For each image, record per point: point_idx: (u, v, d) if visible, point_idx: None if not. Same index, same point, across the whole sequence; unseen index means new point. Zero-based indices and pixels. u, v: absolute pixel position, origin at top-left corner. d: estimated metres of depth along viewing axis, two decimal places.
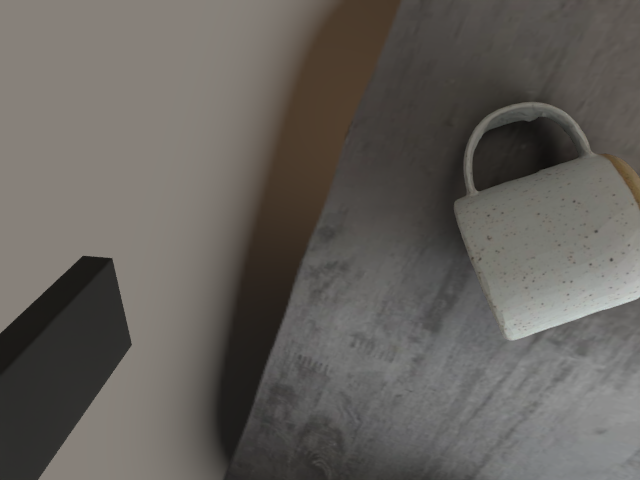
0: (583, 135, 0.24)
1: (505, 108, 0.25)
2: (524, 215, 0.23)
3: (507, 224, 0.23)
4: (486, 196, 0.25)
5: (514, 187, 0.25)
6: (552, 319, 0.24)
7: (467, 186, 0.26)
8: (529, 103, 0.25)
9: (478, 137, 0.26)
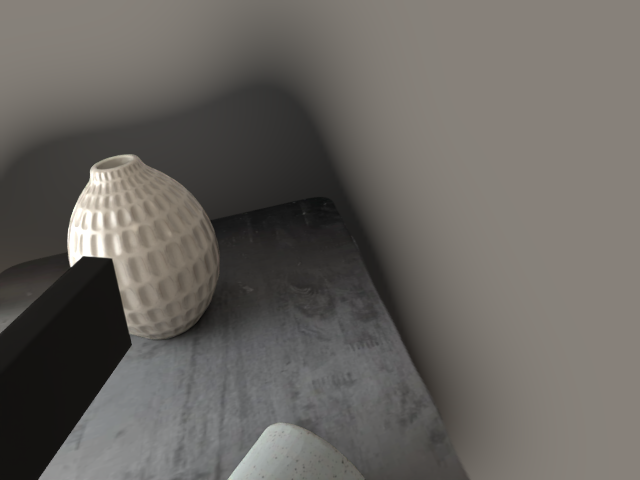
0: None
1: None
2: None
3: None
4: None
5: None
6: (256, 455, 0.27)
7: None
8: None
9: None
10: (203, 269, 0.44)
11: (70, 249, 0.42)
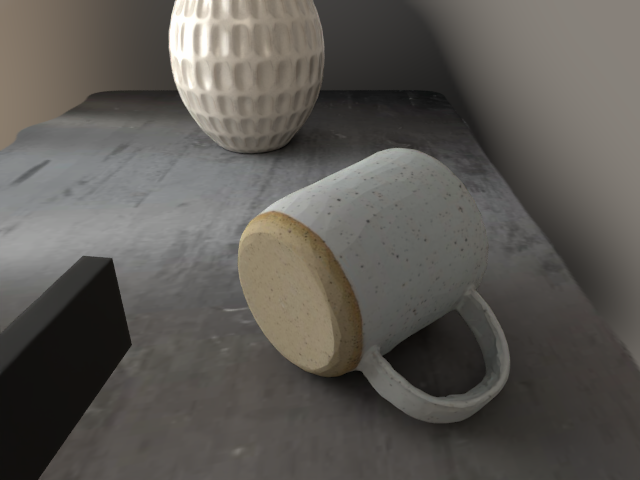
0: (391, 374, 0.18)
1: (493, 392, 0.18)
2: (436, 238, 0.19)
3: (449, 226, 0.19)
4: (464, 278, 0.20)
5: (443, 289, 0.19)
6: (351, 166, 0.22)
7: (480, 296, 0.21)
8: (471, 404, 0.18)
9: (501, 352, 0.19)
10: (306, 72, 0.40)
11: (174, 14, 0.39)
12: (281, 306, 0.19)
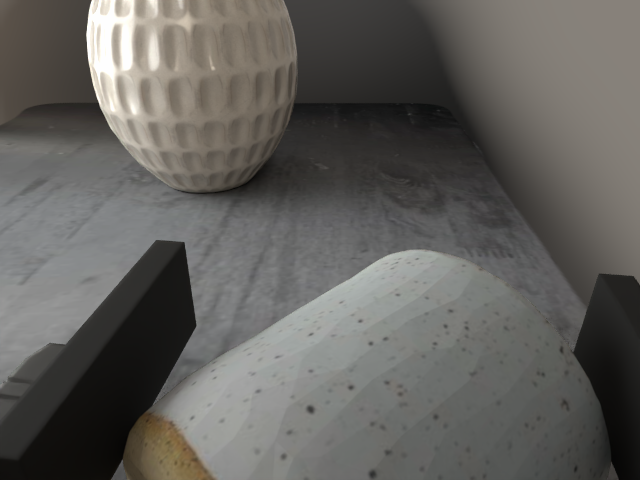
0: None
1: None
2: None
3: (545, 450, 0.09)
4: None
5: None
6: (349, 288, 0.12)
7: None
8: None
9: None
10: (270, 89, 0.30)
11: (90, 11, 0.29)
12: None
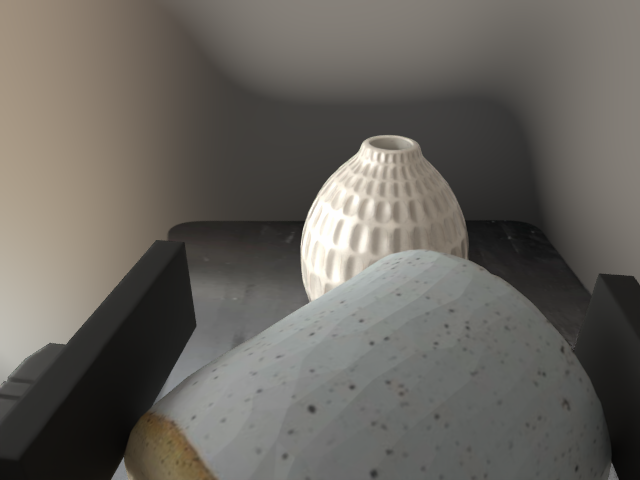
0: None
1: None
2: None
3: (545, 449, 0.09)
4: None
5: None
6: (349, 288, 0.12)
7: None
8: None
9: None
10: None
11: (317, 233, 0.36)
12: None
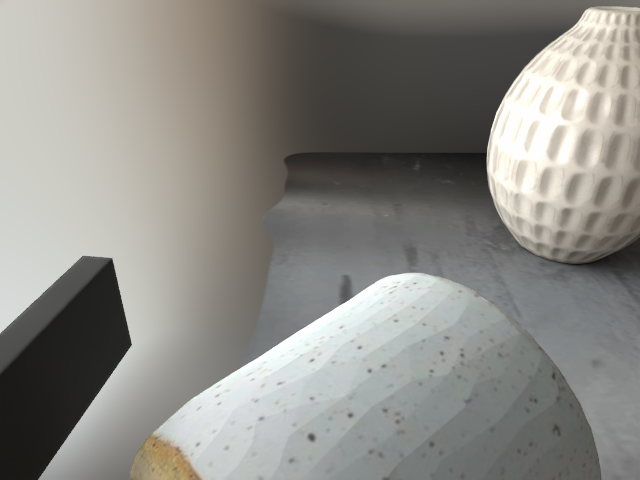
0: None
1: None
2: None
3: (537, 474, 0.10)
4: None
5: None
6: (348, 312, 0.12)
7: None
8: None
9: None
10: None
11: (535, 111, 0.32)
12: None
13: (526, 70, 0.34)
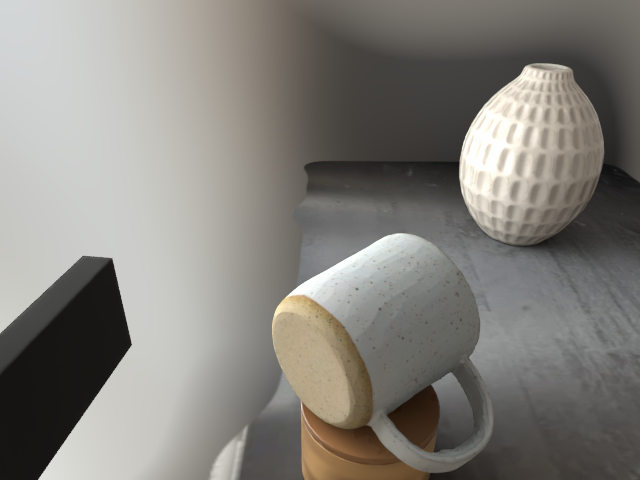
0: (394, 433, 0.22)
1: (477, 450, 0.22)
2: (436, 320, 0.23)
3: (447, 309, 0.24)
4: (458, 350, 0.24)
5: (440, 361, 0.24)
6: (368, 250, 0.26)
7: (472, 364, 0.25)
8: (458, 460, 0.22)
9: (486, 415, 0.24)
10: (596, 185, 0.47)
11: (489, 137, 0.46)
12: (307, 369, 0.24)
13: (485, 107, 0.48)
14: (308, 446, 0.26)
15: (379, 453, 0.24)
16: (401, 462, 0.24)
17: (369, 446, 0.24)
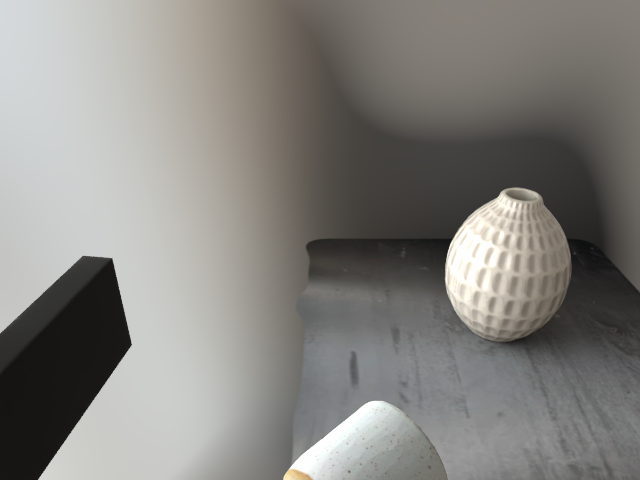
0: None
1: None
2: None
3: None
4: None
5: None
6: (359, 420, 0.32)
7: None
8: None
9: None
10: (564, 296, 0.53)
11: (470, 256, 0.52)
12: None
13: (466, 224, 0.54)
14: None
15: None
16: None
17: None
